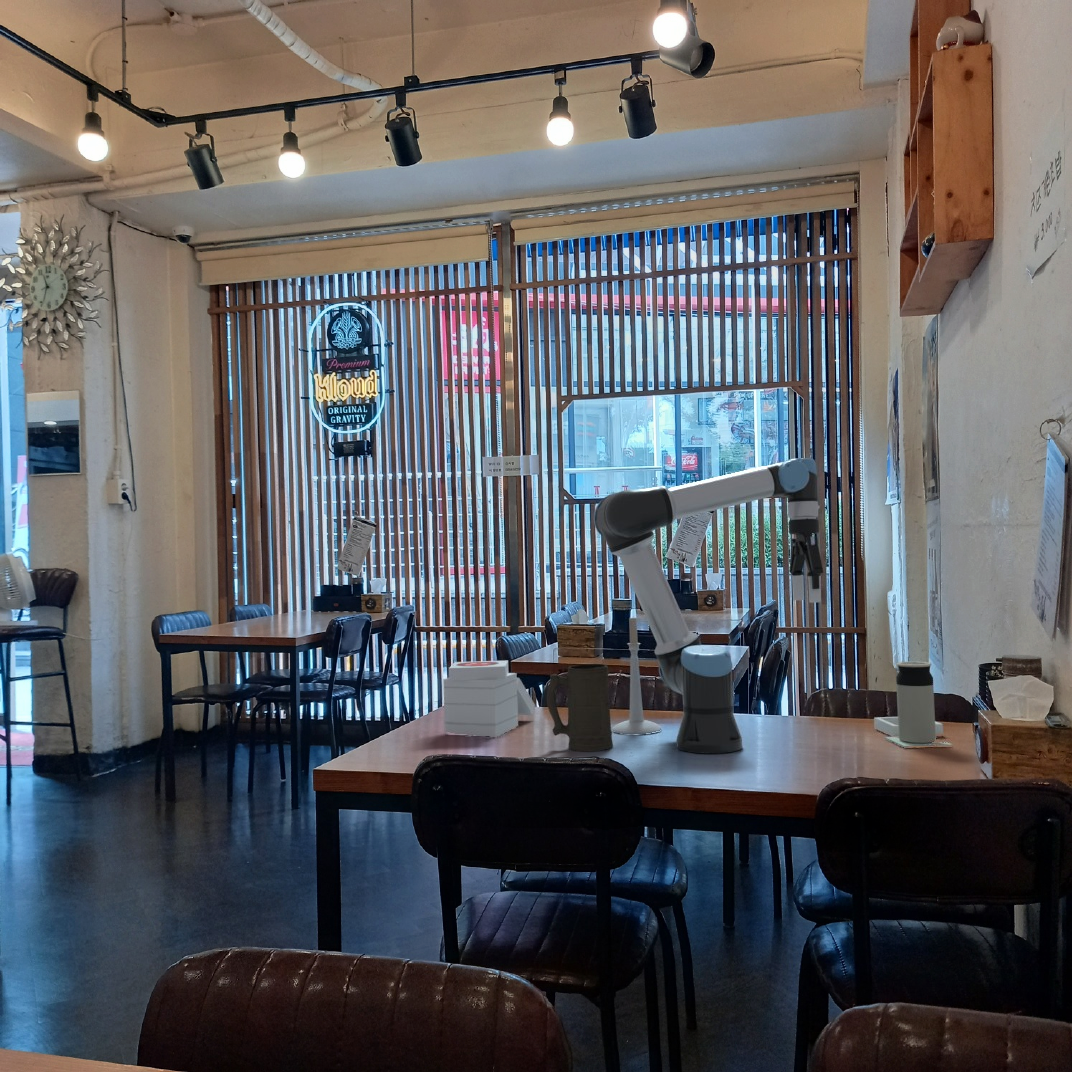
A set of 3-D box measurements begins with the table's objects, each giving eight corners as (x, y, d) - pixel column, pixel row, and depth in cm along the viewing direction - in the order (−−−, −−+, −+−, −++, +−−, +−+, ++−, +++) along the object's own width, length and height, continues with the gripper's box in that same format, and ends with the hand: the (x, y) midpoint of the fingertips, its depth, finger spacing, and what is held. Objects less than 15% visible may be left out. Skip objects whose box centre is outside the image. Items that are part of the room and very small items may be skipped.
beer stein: (609, 741, 229) (601, 660, 229) (621, 749, 218) (612, 665, 218) (549, 749, 226) (541, 668, 226) (557, 758, 215) (549, 672, 216)
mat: (904, 748, 209) (904, 746, 209) (885, 739, 220) (885, 737, 220) (952, 747, 209) (952, 744, 209) (930, 738, 220) (930, 735, 220)
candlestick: (660, 726, 248) (656, 614, 249) (662, 734, 235) (658, 617, 236) (612, 726, 249) (609, 615, 250) (611, 735, 236) (608, 618, 237)
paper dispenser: (542, 719, 264) (540, 656, 264) (499, 739, 236) (497, 668, 236) (481, 717, 271) (479, 655, 271) (432, 736, 243) (431, 667, 244)
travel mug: (930, 745, 209) (927, 665, 210) (894, 742, 214) (891, 664, 215) (939, 739, 216) (936, 662, 216) (904, 736, 220) (901, 660, 221)
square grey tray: (893, 738, 221) (893, 725, 221) (874, 729, 233) (874, 717, 233) (943, 736, 221) (942, 724, 222) (921, 727, 233) (921, 715, 234)
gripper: (834, 515, 225) (837, 602, 225) (803, 520, 250) (806, 598, 249) (803, 516, 225) (807, 603, 224) (775, 521, 250) (778, 599, 249)
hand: (806, 601), depth 237 cm, fingers open, 13 cm apart
